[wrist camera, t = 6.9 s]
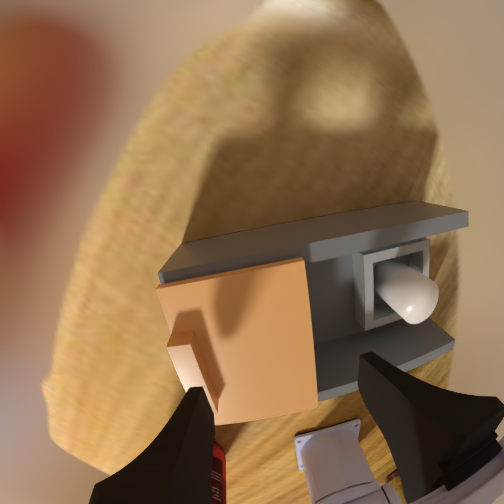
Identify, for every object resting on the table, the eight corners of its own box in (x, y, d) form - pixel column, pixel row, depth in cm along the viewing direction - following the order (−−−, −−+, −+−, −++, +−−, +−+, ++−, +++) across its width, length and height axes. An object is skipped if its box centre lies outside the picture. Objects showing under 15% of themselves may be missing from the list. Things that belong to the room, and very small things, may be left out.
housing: (414, 316, 22) (452, 349, 16) (216, 366, 22) (213, 420, 16) (415, 200, 19) (468, 211, 13) (181, 243, 19) (157, 272, 13)
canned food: (177, 465, 26) (168, 531, 16) (152, 433, 24) (134, 509, 14) (232, 463, 26) (235, 533, 16) (216, 431, 24) (214, 516, 14)
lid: (316, 401, 15) (322, 420, 14) (211, 419, 15) (210, 439, 14) (301, 256, 13) (311, 268, 11) (158, 284, 13) (148, 299, 11)
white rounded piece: (403, 289, 20) (437, 315, 15) (371, 300, 20) (401, 330, 15) (402, 253, 19) (439, 273, 14) (368, 263, 19) (402, 287, 14)
